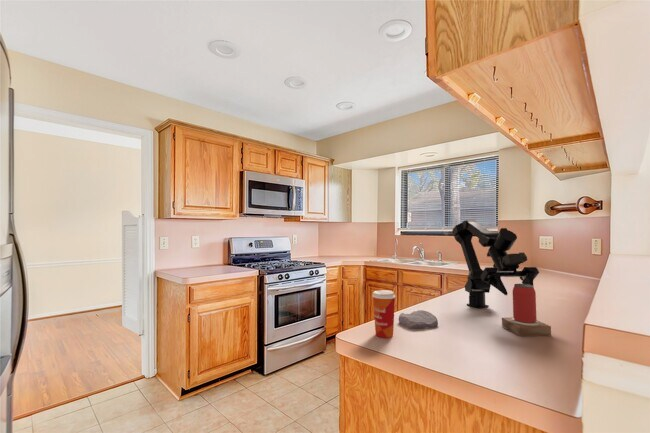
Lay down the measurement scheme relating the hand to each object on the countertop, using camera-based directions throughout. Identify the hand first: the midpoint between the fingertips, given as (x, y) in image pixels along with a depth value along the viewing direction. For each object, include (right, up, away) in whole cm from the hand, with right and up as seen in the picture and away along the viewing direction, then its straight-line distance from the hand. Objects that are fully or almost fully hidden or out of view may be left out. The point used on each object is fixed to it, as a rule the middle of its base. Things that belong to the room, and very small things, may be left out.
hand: (520, 294), depth 107 cm
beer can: (0, -9, -2) cm, 9 cm away
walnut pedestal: (0, -12, -3) cm, 12 cm away
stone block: (-33, -13, +5) cm, 36 cm away
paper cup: (-48, -12, -5) cm, 50 cm away
